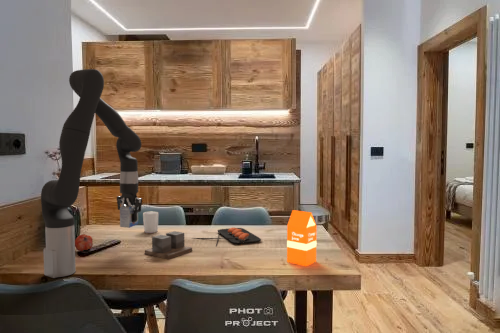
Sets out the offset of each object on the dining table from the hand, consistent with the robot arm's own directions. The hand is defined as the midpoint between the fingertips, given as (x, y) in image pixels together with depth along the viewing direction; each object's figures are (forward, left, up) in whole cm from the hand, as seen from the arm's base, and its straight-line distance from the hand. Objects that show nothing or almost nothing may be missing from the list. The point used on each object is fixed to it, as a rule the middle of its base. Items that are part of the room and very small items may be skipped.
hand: (129, 220), depth 165 cm
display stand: (+7, -16, -13) cm, 22 cm away
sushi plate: (+39, -21, -14) cm, 46 cm away
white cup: (+30, +20, -13) cm, 39 cm away
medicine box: (0, 0, -2) cm, 2 cm away
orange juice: (+26, -69, -13) cm, 75 cm away
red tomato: (-11, +17, -13) cm, 24 cm away
